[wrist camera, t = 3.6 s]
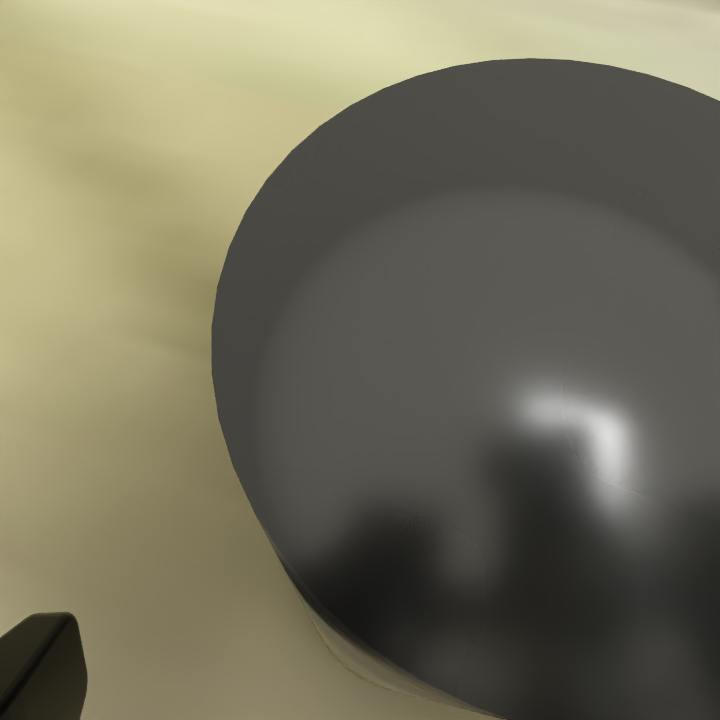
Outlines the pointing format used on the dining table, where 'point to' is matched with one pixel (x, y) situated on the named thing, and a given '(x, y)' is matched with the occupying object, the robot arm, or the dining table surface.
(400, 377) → the shaft
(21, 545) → the dining table surface
